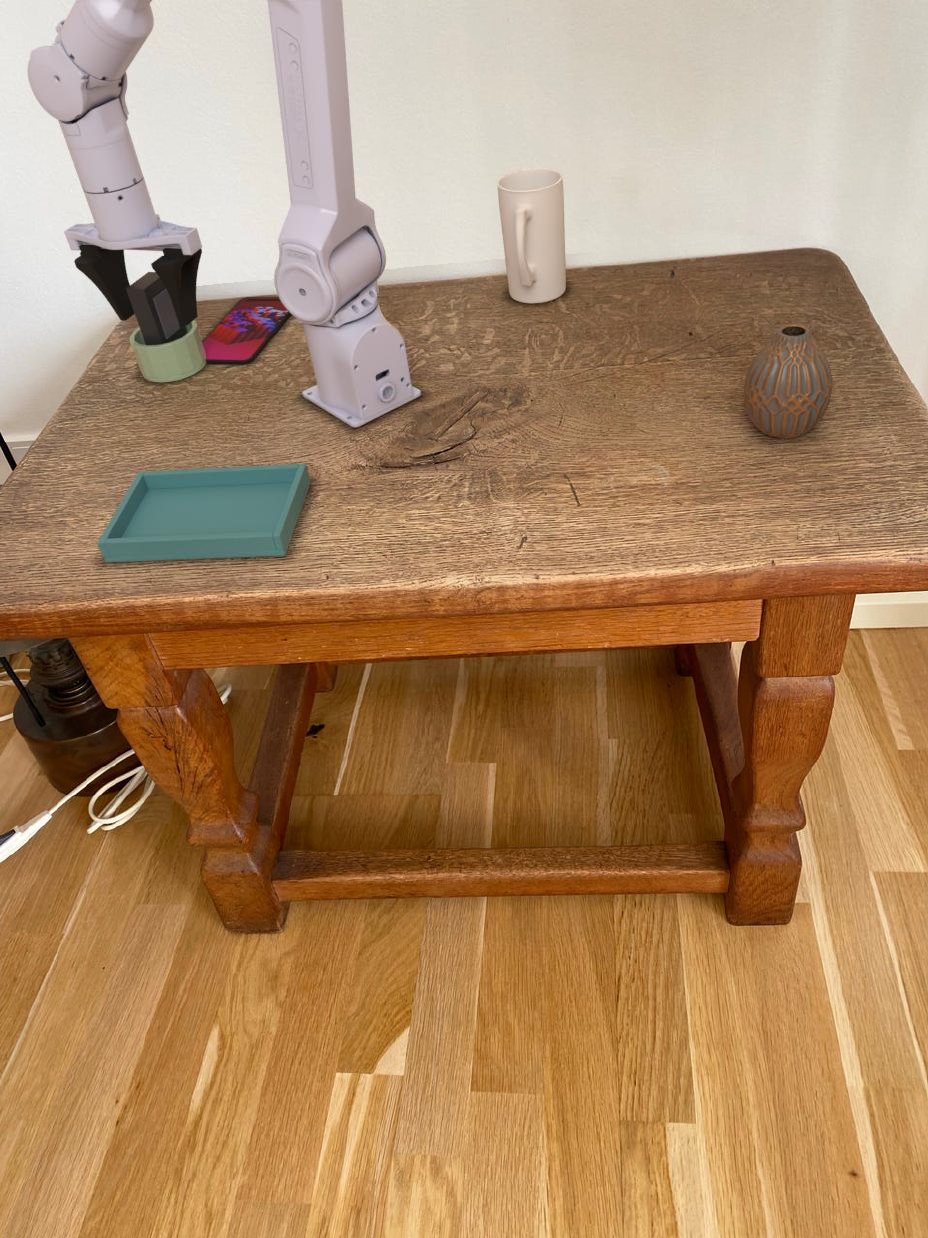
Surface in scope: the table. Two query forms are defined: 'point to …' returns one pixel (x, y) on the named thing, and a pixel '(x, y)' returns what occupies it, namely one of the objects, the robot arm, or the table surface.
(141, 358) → the cup
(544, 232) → the mug
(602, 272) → the table surface
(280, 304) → the smartphone
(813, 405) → the vase
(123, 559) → the tray
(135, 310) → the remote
